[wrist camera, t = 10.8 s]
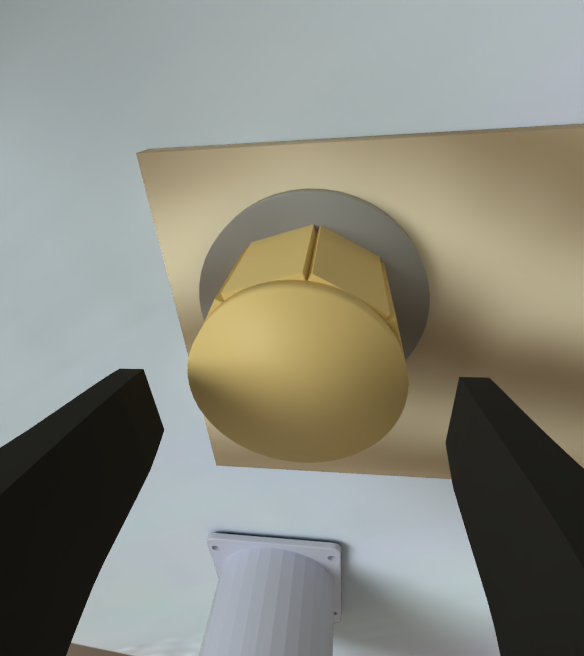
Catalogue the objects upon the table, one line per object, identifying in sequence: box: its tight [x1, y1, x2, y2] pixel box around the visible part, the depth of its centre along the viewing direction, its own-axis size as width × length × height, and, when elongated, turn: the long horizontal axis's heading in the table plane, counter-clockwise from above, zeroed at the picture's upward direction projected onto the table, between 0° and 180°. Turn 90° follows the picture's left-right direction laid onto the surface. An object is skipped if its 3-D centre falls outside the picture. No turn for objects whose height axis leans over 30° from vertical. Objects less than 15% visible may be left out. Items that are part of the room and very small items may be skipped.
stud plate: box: [136, 124, 584, 479], centre depth 13 cm, size 14×16×3 cm
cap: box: [188, 224, 410, 463], centre depth 11 cm, size 5×5×4 cm
